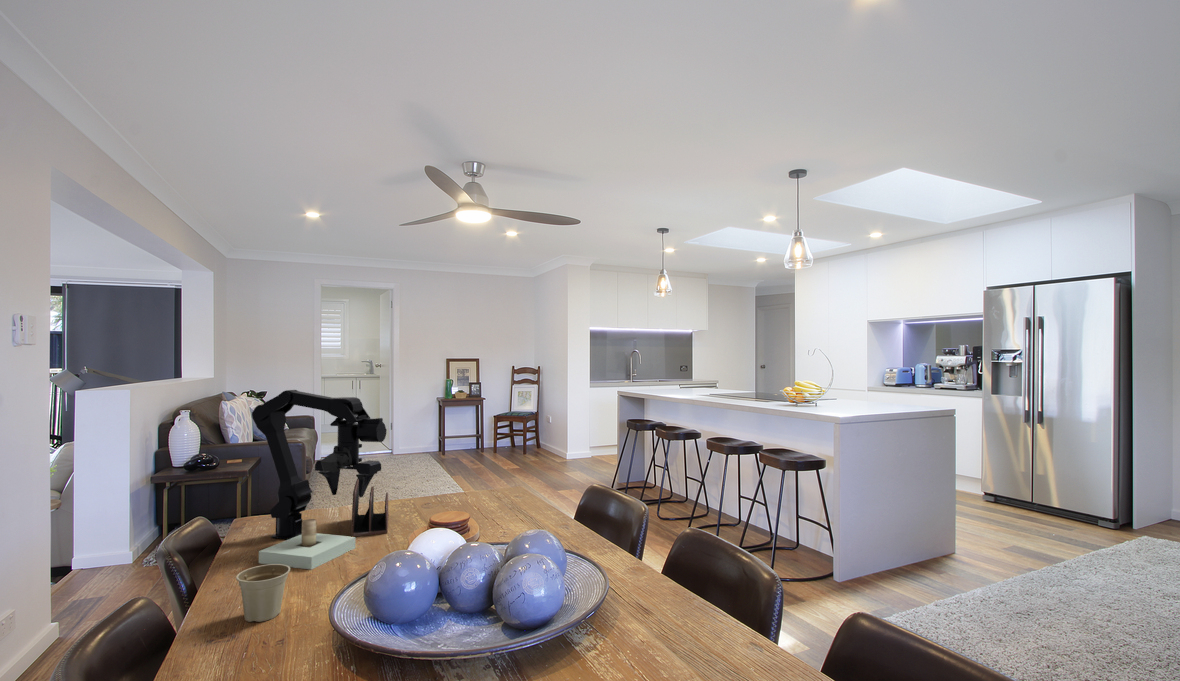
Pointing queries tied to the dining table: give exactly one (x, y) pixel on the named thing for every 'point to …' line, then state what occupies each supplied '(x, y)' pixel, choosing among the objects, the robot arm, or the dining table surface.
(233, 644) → the dining table surface
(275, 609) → the flower pot
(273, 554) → the board
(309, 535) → the peg
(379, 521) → the letter holder
